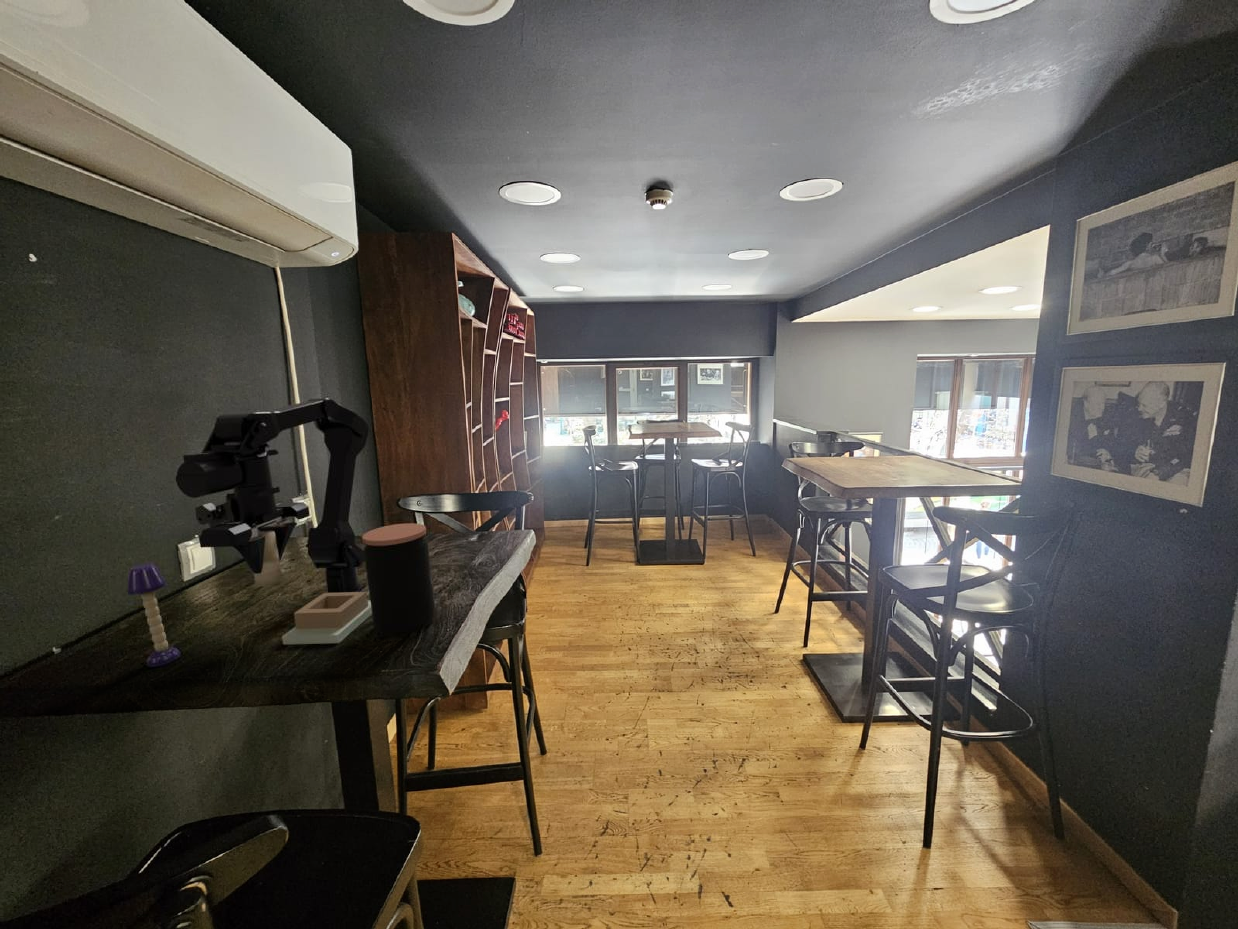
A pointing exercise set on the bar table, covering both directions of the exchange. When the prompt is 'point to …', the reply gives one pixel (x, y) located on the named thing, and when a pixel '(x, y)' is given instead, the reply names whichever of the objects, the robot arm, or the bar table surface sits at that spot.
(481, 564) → the bar table surface
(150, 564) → the toy lamp
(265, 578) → the birch peg
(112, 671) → the bar table surface
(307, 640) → the socket board
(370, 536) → the coffee jar
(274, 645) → the bar table surface
